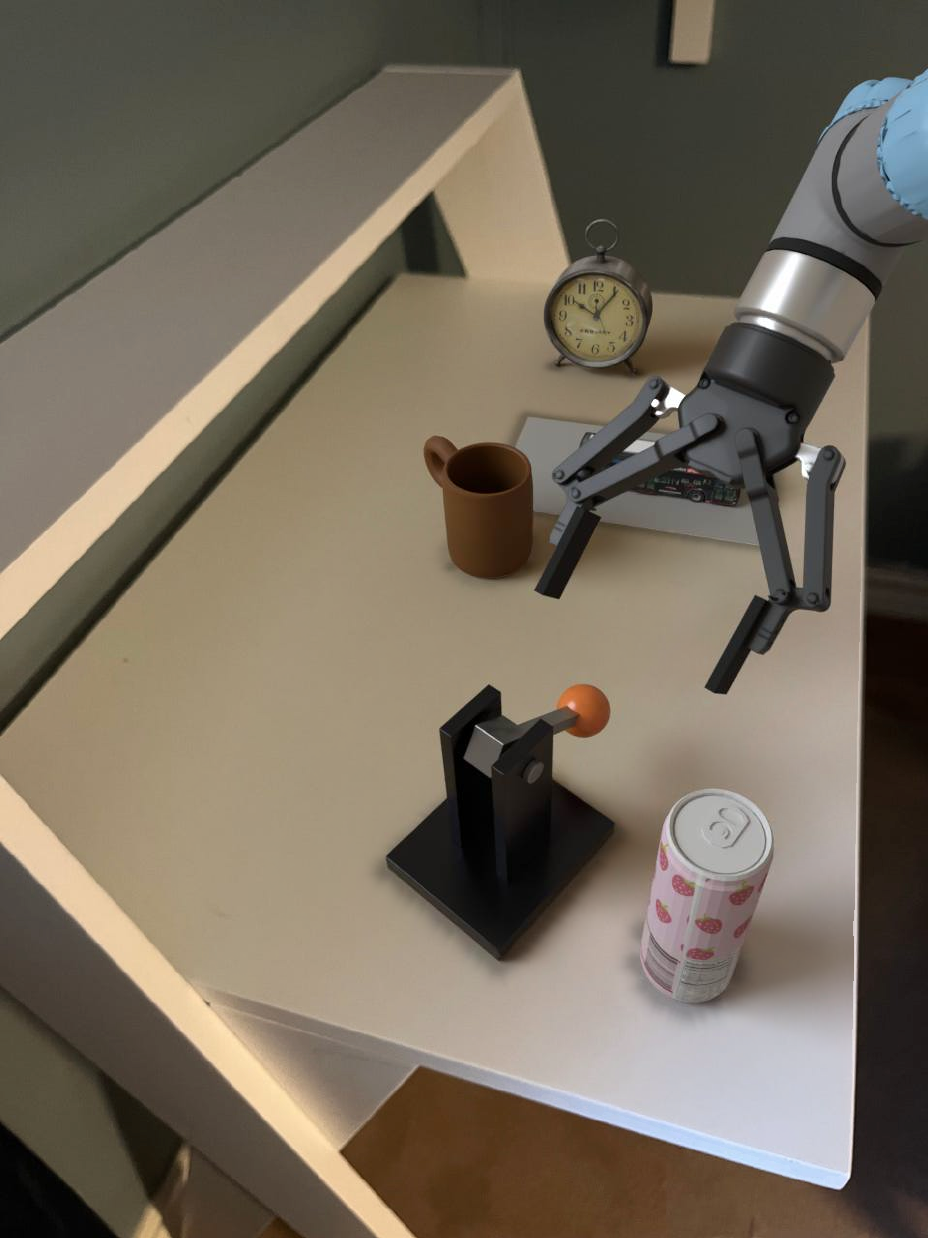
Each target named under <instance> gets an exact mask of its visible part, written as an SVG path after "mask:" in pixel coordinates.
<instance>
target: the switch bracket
mask: <svg viewBox="0 0 928 1238" xmlns="http://www.w3.org/2000/svg"><path fill="white" fill-rule="evenodd" d="M501 715H503V709H502V692H501V690H499V689H498V688H496V687H494V686H493V685H491V684H490V683H489V684H486V686H485V687H484V688H482V689H481V690H480V691H479V692H478V693H477V694H476V695H475V696H474V697H472V698H471V699H470V700H469V701H468V702H467V703H466V704H464V706H462V707H461V708H460V709H459V710H458V711H457V712H456V713H455V714H454V715H453V716H451V717H450V718H448V719H447V720H446V722H444V724H442V725H441V726H440V727H439V728H438V732H439V733H438V734H439V741H440V750H441V758H442V767H443V775H444V784H445V792H446V793H445V794H446V798H445V799H444V800H443V801H442V802H441V803H440V804H439V805H438V806H437V807H435V808H434V810H432V811H431V812H430V813H429V814H428V815H427V816H426V817H425V818H424V819H423V820H422V821H421V822H419V824H417V825H416V827H415V828H414V829H413V830H411V831H410V832H409V833H408V834H407V835H406V836H405V837H404V838H403V839H402V840H401V841H400V842H399V843H398V844H396V846H395V847H393V849H392V850H390V851H389V852H388V853H387V854H386V855H385V861H386V866H387V869H389V870H390V871H391V872H392V873H393V874H395V875H396V876H397V877H398V878H399V879H401V880H402V881H403V882H404V883H405V884H407V885H408V886H409V887H410V888H411V889H412V890H414V891H415V892H416V893H417V894H418V895H420V896H421V897H422V898H423V899H424V900H426V901H427V903H429V904H430V905H431V906H432V907H434V908H435V909H436V910H437V911H438V912H439V913H441V914H442V915H443V916H444V917H445V918H447V919H448V920H449V921H450V922H452V924H453V925H455V926H456V927H458V928H459V930H460V931H462V932H463V933H465V934H466V935H467V936H468V937H469V938H470V939H472V940H473V941H474V942H475V943H476V944H477V945H479V946H480V947H481V948H482V949H484V950H485V951H486V952H487V953H488V954H490V955H491V956H492V957H493V958H494V959H495V960H497V962H501V961H502V959H504V957H505V956H506V955H507V954H508V952H509V951H511V950H512V948H513V947H514V946H515V945H516V944H517V943H518V942H519V940H521V939H522V937H523V936H524V935H525V934H526V932H528V930H529V929H530V928H531V927H532V925H534V923H536V922H537V920H538V919H539V918H540V917H541V916H542V914H544V912H545V911H546V910H547V909H548V908H549V907H550V906H551V904H552V903H553V902H555V900H556V899H557V898H558V897H559V896H560V894H561V893H562V892H563V891H564V890H565V889H567V887H568V886H569V884H571V882H573V880H574V879H575V878H576V877H577V876H578V875H579V874H580V873H581V871H582V870H583V869H584V868H585V867H586V865H588V863H589V862H590V861H591V860H592V859H593V858H594V857H595V856H596V854H597V853H598V852H599V851H601V848H603V846H604V845H605V844H606V843H608V841H609V840H610V839H611V838H612V837H613V835H614V834H615V827H616V821H614V820H613V819H611V818H609V817H608V816H606V815H605V814H604V813H603V812H601V811H599V810H598V809H597V808H595V807H594V806H592V805H591V804H590V803H588V802H587V801H586V800H584V799H582V798H581V797H579V796H578V795H576V794H575V793H574V792H572V791H570V790H569V789H568V788H566V787H565V786H564V785H562V784H560V783H559V782H558V781H556V780H555V779H553V769H554V767H553V765H554V764H553V763H554V735H553V732H554V727H553V726H552V725H550V724H549V723H547V722H546V721H544V720H543V719H539V720H538V721H537V722H536V723H535V724H534V725H533V726H532V727H531V728H530V729H529V730H528V731H527V732H526V733H525V734H524V735H523V736H522V737H521V738H520V739H519V740H518V741H516V742H515V743H514V744H513V745H512V746H511V747H510V748H509V749H508V750H507V751H506V752H505V753H504V754H503V755H502V756H501V757H500V758H499V759H498V760H497V761H496V762H495V763H494V764H493V765H492V766H491V775H492V778H489V777H488V776H487V775H485V774H484V773H483V772H481V771H480V770H478V769H477V768H476V767H474V766H473V765H472V764H470V763H469V762H467V761H466V760H465V759H464V755H465V752H466V750H467V747H468V744H469V741H470V738H471V736H472V733H473V730H474V727H475V725H477V724H479V723H482V722H485V721H488V720H490V719H493V718H496V717H498V716H501Z"/></svg>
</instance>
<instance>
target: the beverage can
mask: <svg viewBox="0 0 928 1238" xmlns="http://www.w3.org/2000/svg"><path fill="white" fill-rule="evenodd" d="M774 842H775V839H774V833H773V829H772V826H771V824H770V821H769V820H768V817H766V815H765V814H764V813H763V811H762V810H761V809H760V808H759V807H758V806H757V805H756V804H755V803H754V802H752V801H751V800H749V799H748V798H747V797H745V796H743V795H741V794H738V793H736V792H733V791H730V790H727V789H722V788H703V789H699V790H695V791H693V792H692V791H691V792H690V793H688V794H686V795H684V796H683V797H681V798H679V800H677V801H676V802H675V804H674V805H673V807H672V808H671V809H670V811H669V813H668V814H667V816H666V818H665V821H664V823H663V825H662V830H661V836H660V841H659V845H658V852H657V857H656V862H655V868H654V872H653V876H652V877H653V878H652V883H651V889H650V894H649V899H648V902H647V903H648V904H647V909H646V915H645V918H644V919H645V920H644V923H643V924H644V925H643V931H642V935H641V941H640V947H639V956H640V957H639V959H640V963H641V966H642V970H643V972H644V974H645V975H646V977H647V979H648V980H649V981H650V982H651V984H652V985H653V986H654V987H655V988H656V989H657V990H658V991H659V992H661V993H662V994H664V995H666V996H667V997H669V998H671V999H673V1000H677V1001H678V1002H683V1003H690V1004H693V1003H703V1002H707V1001H711V1000H712V999H713V998H716V997H718V996H719V995H721V993H723V992H724V991H725V990H726V989H727V987H728V986H729V984H730V982H731V980H732V977H733V975H734V972H735V970H736V966H737V963H738V960H739V957H740V955H741V953H742V949H743V947H744V943H745V941H746V937H747V935H748V932H749V929H750V926H751V923H752V920H753V917H754V914H755V911H756V909H757V906H758V904H759V900H760V898H761V894H762V891H763V889H764V886H765V883H766V880H767V877H768V875H769V871H770V868H771V866H772V863H773V860H774V852H775V851H774V850H775V847H774V845H775V843H774Z"/></svg>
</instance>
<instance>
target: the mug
mask: <svg viewBox="0 0 928 1238" xmlns="http://www.w3.org/2000/svg"><path fill="white" fill-rule="evenodd" d="M423 459H424V463H425V465H426V466H425V467H426V468H427V471H428V472H429V474H430V476H431V477H432V479H433V481H434V482H435V483H436V484H437V485H438V486H439V487H440V488H441V489H442V501H443V511H444V524H445V533H446V542H447V551H448V554H449V557H450V559H451V562H452V563H453V564H454V565H455V566H456V568H458V569H459V570H460V571H461V572H462V573H465V574H467V575H470V576H473V577H476V578H480V579H498V578H502V577H503V578H504V577H507V576H509V575H512V574H514V573H516V572H518V571H519V570H520V569H522V568H523V567H524V566H525V565H526V563H527V562H528V561H529V559H530V557H531V555H532V552H533V546H534V545H533V544H534V511H533V479H532V468H531V464H530V461H529V459H528V458H527V457H526V455H525V454H524V453H523V452H521V451H520V450H518V449H516V448H515V446H512V445H510V444H506V443H501V442H495V441H493V442H491V441H487V442H486V441H485V442H477V443H476V442H475V443H472V444H469V445H466V446H463V447H461V448H459V449H458V448H457V447H456V445H454V443H453V442H452V441H450V439H448V438H446V437H444V436H440V435H432V436H431V437H430V438H428V439H427V440H426V441H425V442H424V446H423Z"/></svg>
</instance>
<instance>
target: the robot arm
mask: <svg viewBox="0 0 928 1238" xmlns="http://www.w3.org/2000/svg"><path fill="white" fill-rule="evenodd" d="M816 144H817V146H816V148H815V151H814V154H813V155H812V158H811V160H810V162H809V164H808V166H807V168H806V170H805V172H804V174H803V176H802V177H801V180H800V181H799V183H798V186H797V187H796V190H795V191H794V193H793V196H792V197H791V200H790V202H789V204H787V208H786V209H785V211H784V213H783V215H782V217H781V219H780V221H779V223H778V225H777V227H776V229H775V231H774V233H773V235H772V237H771V239H770V241H769V243H768V245H767V246H766V248H765V251H764V253H763V255H762V256H761V258H760V260H759V262H758V264H757V266H756V267H755V268H754V271H753V272H752V275H751V276H750V278H749V280H748V281H747V284H746V286H745V288H744V289H743V292H742V293H741V295H740V297H739V299H738V300H737V303H736V304H735V306H734V308H733V316H734V318H735V320H736V322H732V323H730V324H728V325H726V326H725V327H724V329H723V331H722V332H721V334H720V336H719V338H718V339H717V342H716V344H715V345H714V348H713V350H712V351H711V353H710V354H709V357H708V359H707V361H706V363H705V365H704V367H703V369H702V372H701V374H700V376H699V380H698V382H697V384H696V385H695V386H694V387H693V388H692V390H690V391H689V392H688V393H687V394H684V393H683V392H681V391H679V390H677V389H676V388H674V387H672V386H671V385H670V384H669V383H668V382H666V380H664V379H663V378H662V377H661V376H659V375H656V374H655V375H651V376H650V377H649V378H648V379H646V381H645V382H644V384H643V385H642V387H641V388H640V390H639V392H638V394H637V395H636V397H635V398H634V400H633V401H632V402H631V403H630V404H629V405H628V406H627V407H626V408H624V409H623V410H622V411H620V413H618V414H617V416H615V417H614V418H612V419H611V420H610V421H609V422H607V424H605V425H603V426H604V427H603V428H602V429H601V430H600V431H599V432H597V433H596V434H595V435H594V436H593V437H592V438H590V439H589V440H588V441H587V442H586V443H584V444H583V445H582V446H581V447H580V448H579V449H577V450H576V451H575V452H574V453H573V454H572V455H570V456H569V457H568V458H567V459H566V460H564V461H563V462H562V463H561V464H560V465H559V466H557V467H556V468H555V469H554V470H553V472H552V479H553V481H554V482H555V483H557V484H558V485H559V486H560V487H561V488H562V489H563V491H564V492H565V493H566V496H567V502H566V505H565V507H564V509H563V510H562V512H561V514H560V515H558V516H559V517H558V519H556V523H555V524H554V527H553V528H552V530H551V532H550V535H549V543H550V544H551V545H554V547H555V548H554V550H553V552H552V554H551V556H550V558H549V560H548V562H547V563H546V566H545V568H544V570H543V572H542V574H541V575H540V577H539V580H538V582H537V583H536V586H535V588H534V591H535V592H536V593H538V594H539V595H541V596H544V597H547V598H552V599H556V600H560V599H561V597H562V596H563V594H564V592H565V589H566V588H567V586H568V584H569V582H570V579H572V576H573V575H574V572H575V570H576V568H577V566H578V564H579V563H580V561H581V558H582V556H583V555H584V552H585V551H586V548H587V546H588V544H589V542H590V541H591V538H592V536H593V535H594V533H595V531H596V529H597V527H598V525H599V523H600V522H601V521H600V519H601V517H600V516H598V515H596V514H594V513H592V512H590V510H591V511H596V510H597V509H596V508H594V507H596V506H598V505H600V504H602V503H604V502H606V501H608V500H610V499H612V498H614V497H616V496H619V495H621V494H623V493H625V492H627V491H629V490H631V489H633V488H635V487H637V486H639V485H641V484H643V483H645V482H647V481H649V480H651V479H653V478H655V477H657V476H659V475H661V474H663V473H665V472H667V471H669V470H672V469H678V468H681V467H683V466H685V465H687V464H688V466H689V467H691V468H692V469H693V470H695V471H696V472H698V473H700V474H702V475H705V476H707V477H714V478H718V479H720V480H721V481H722V482H723V483H725V484H726V485H727V486H729V487H731V488H734V489H736V490H739V489H746V493H747V496H748V498H749V500H750V504H751V508H752V513H753V518H754V522H755V527H756V532H757V537H758V541H759V545H758V546H759V550H760V554H761V555H760V556H761V560H762V564H763V569H764V574H765V578H766V579H765V580H766V583H767V586H768V593H769V594H768V595H767V598H768V600H767V599H765V598H764V597H761V596H760V595H757V594H754V596H753V598H752V599H751V601H750V603H749V605H748V607H747V608H746V610H745V612H744V614H743V616H742V618H741V619H740V621H739V623H738V625H737V626H736V628H735V629H734V632H733V633H732V635H731V638H730V639H729V641H728V643H727V645H726V647H725V648H724V650H723V652H722V654H721V655H720V657H719V659H718V661H717V663H716V665H715V667H714V669H713V671H712V672H711V674H710V676H709V678H708V680H707V681H706V683H705V685H704V687H703V688H704V689H706V690H707V691H709V692H711V693H713V694H715V695H728V693H729V691H730V689H731V688H732V686H733V684H734V682H735V680H736V679H737V677H738V675H739V673H740V672H741V670H742V668H743V666H744V664H745V662H746V661H747V659H748V656H749V655H750V653H751V652H754V653H755V654H758V655H761V656H764V655H765V654H767V653H768V652H769V651H770V650H771V649H772V647H773V645H774V643H775V642H776V639H777V638H778V636H779V634H780V633H781V631H782V629H783V627H784V625H785V624H786V621H788V618H789V617H790V615H791V614H793V612H795V611H799V610H800V611H810V612H816V613H824V612H826V611H828V610H829V609H830V607H831V604H832V587H833V585H832V582H833V581H832V580H833V558H834V556H833V555H834V554H833V553H834V551H833V549H834V527H835V526H834V524H835V498H836V497H835V496H836V495H835V493H836V490H837V488H838V486H839V483H840V481H841V478H842V476H843V474H844V471H845V469H846V466H847V461H846V458H845V457H844V455H843V454H842V453H841V452H840V450H839V449H838V448H837V446H834V445H831V444H828V445H824V446H823V447H821V446H818V445H814V444H810V443H806V442H804V440H805V434H806V431H807V429H808V428H809V426H810V424H811V422H812V421H813V419H814V417H815V415H816V413H817V411H818V409H819V407H820V406H821V404H822V402H823V400H824V398H825V397H826V395H827V393H828V391H829V389H830V387H831V385H832V384H833V382H834V380H835V378H836V373H835V368H834V365H833V364H836V363H840V362H843V361H844V360H845V358H846V356H847V355H848V353H849V351H850V349H851V347H852V345H853V344H854V342H855V340H856V339H857V337H858V335H859V333H860V331H861V329H862V328H863V326H864V324H865V322H866V320H867V318H868V317H869V315H870V313H871V311H872V309H873V308H874V306H875V304H876V302H877V300H878V299H879V297H880V295H881V293H882V290H883V288H884V287H885V285H886V283H887V282H888V280H889V278H890V276H891V274H892V272H893V271H894V269H895V267H896V265H897V263H898V262H899V260H900V259H901V256H902V255H903V253H904V251H905V250H906V248H907V247H908V246H910V245H914V244H917V243H919V242H922V241H924V240H927V239H928V68H927V69H925V71H923V73H921V74H919V75H917V76H916V77H915V78H914V79H913V80H912V79H908V78H901V77H892V76H889V77H885V78H883V79H882V80H877V79H869V80H865V81H863V82H862V83H860V84H858V85H857V86H855V87H854V88H853V89H852V90H851V91H850V92H849V93H848V94H847V96H846V97H845V98H844V100H843V102H842V103H841V105H840V107H839V109H838V111H837V112H836V114H835V115H834V118H833V119H832V121H831V123H830V124H829V125H828V126H826V127H825V128H824V129H823V131H822V133H821V135H820V137H819V139H818V141H817V142H816ZM675 412H677V419H678V426H679V428H677V429H675V430H674V431H672V432H670V433H668V434H667V435H666V436H664V437H662V438H660V439H658V440H657V441H656V442H655V444H654V445H653V446H651V447H649V448H647V449H645V450H643V451H641V452H639V453H637V454H635V455H633V456H631V457H629V458H627V459H625V460H623V461H621V462H619V463H617V464H615V465H613V466H611V467H609V468H607V469H606V470H604V471H602V472H600V473H598V472H599V471H600V470H601V469H602V468H604V467H605V466H606V465H607V464H608V463H610V462H611V461H612V460H613V459H615V458H616V457H617V456H618V455H619V454H621V453H622V452H623V451H624V450H625V449H627V448H628V447H629V446H630V445H631V444H633V443H634V442H635V441H636V440H637V439H639V438H640V437H641V436H642V435H643V434H645V433H646V432H649V430H651V429H652V428H653V427H654V426H656V424H657V423H658V422H659V421H660V420H663V419H667V418H668V417H670V416H671V415H672V413H675ZM798 461H799V462H800V463H801V471H800V472H801V475H802V477H803V478H804V479H805V480H806V481H807V484H806V491H805V516H804V517H805V518H804V543H803V544H804V546H803V572H802V587H798V586H797V581H796V578H795V573H794V568H793V564H792V559H791V554H790V550H789V546H788V541H787V536H786V532H785V528H784V523H783V518H782V514H781V509H780V504H779V502H780V499H779V493H778V488H777V485H776V484H777V483H776V479H775V475H776V474H777V473H780V472H782V471H784V469H785V470H786V469H787V468H788V467H791V466H792V465H794V464H795V463H797V462H798ZM596 473H598V474H596ZM595 474H596V475H595Z"/></svg>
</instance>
